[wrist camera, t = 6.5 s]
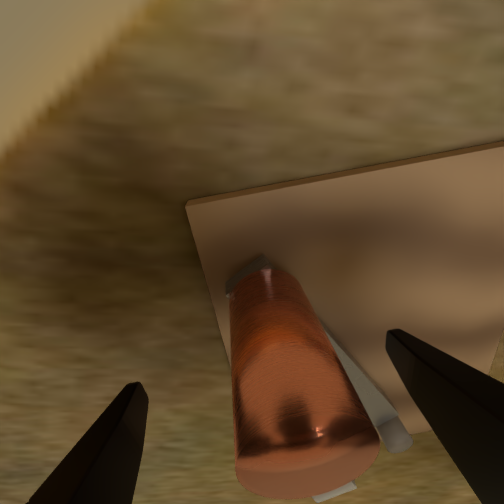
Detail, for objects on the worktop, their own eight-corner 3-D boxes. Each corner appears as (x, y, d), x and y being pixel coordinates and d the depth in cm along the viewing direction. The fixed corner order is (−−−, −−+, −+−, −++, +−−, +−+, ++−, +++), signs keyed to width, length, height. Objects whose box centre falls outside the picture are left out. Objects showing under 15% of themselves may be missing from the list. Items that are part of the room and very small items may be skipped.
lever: (396, 393, 18) (504, 555, 11) (352, 417, 19) (429, 584, 12) (270, 243, 12) (335, 389, 5) (213, 286, 13) (203, 467, 6)
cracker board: (459, 407, 22) (508, 463, 19) (257, 451, 22) (264, 517, 18) (542, 133, 13) (676, 133, 9) (188, 200, 12) (173, 229, 9)
